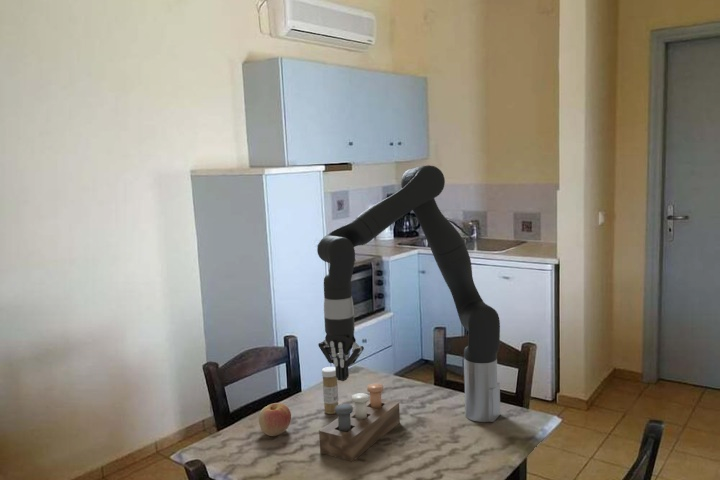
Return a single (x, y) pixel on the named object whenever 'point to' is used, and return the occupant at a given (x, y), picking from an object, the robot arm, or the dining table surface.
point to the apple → (274, 419)
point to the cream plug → (360, 405)
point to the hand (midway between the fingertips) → (342, 379)
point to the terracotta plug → (375, 395)
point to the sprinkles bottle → (330, 389)
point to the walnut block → (359, 431)
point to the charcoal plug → (344, 416)
